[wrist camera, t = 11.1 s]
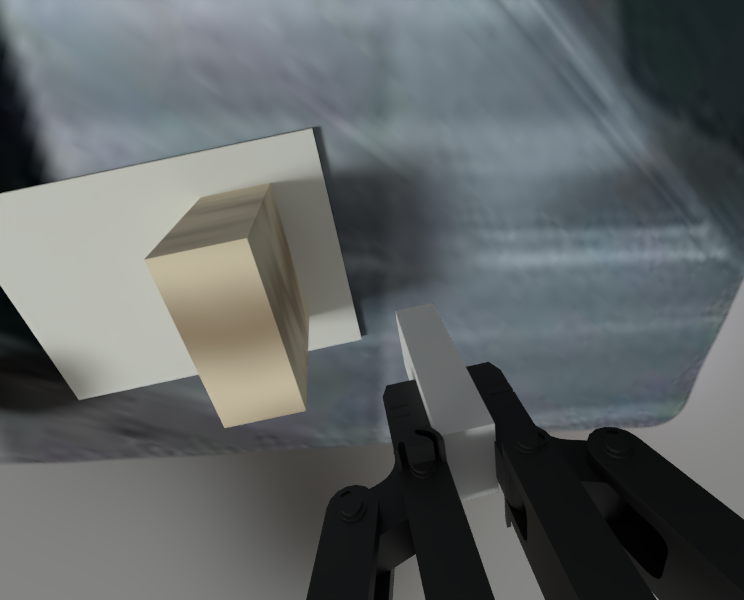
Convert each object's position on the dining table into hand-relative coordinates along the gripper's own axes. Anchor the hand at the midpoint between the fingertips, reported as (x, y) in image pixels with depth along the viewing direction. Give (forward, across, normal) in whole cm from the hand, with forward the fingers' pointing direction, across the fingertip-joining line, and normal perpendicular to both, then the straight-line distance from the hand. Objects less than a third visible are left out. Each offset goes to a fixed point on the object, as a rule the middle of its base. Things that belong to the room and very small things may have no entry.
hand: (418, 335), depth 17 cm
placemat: (+11, +13, 0) cm, 17 cm away
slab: (+11, +8, 0) cm, 13 cm away
